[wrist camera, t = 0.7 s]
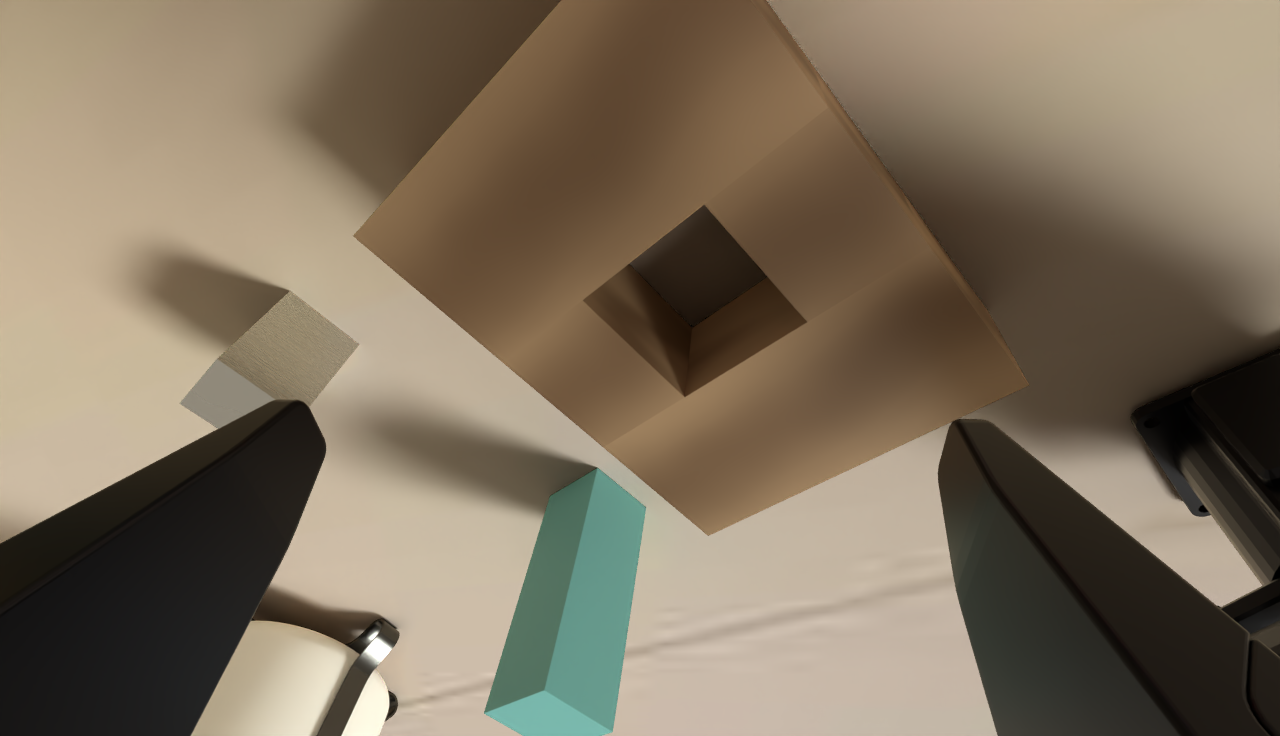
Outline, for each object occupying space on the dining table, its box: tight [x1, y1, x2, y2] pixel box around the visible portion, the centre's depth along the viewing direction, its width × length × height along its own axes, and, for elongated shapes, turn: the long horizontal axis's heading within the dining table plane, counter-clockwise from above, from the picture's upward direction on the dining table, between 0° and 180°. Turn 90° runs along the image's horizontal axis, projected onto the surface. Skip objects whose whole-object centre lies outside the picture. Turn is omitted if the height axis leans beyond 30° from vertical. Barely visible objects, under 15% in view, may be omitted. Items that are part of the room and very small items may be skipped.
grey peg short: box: [180, 291, 359, 429], centre depth 25 cm, size 3×3×4 cm
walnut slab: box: [354, 0, 1029, 536], centre depth 21 cm, size 16×12×4 cm
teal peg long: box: [484, 468, 646, 736], centre depth 27 cm, size 3×3×10 cm
